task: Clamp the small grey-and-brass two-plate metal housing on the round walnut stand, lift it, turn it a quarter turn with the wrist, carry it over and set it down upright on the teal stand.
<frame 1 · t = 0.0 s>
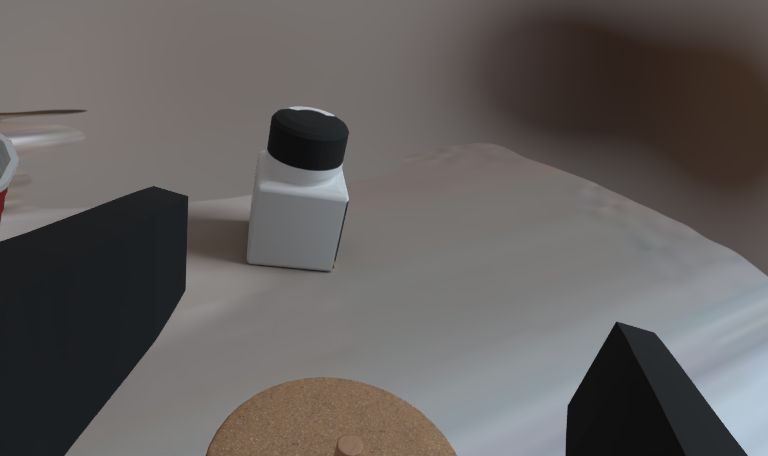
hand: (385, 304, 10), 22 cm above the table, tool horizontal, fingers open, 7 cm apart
medicine bottle: (289, 248, 52), on the table
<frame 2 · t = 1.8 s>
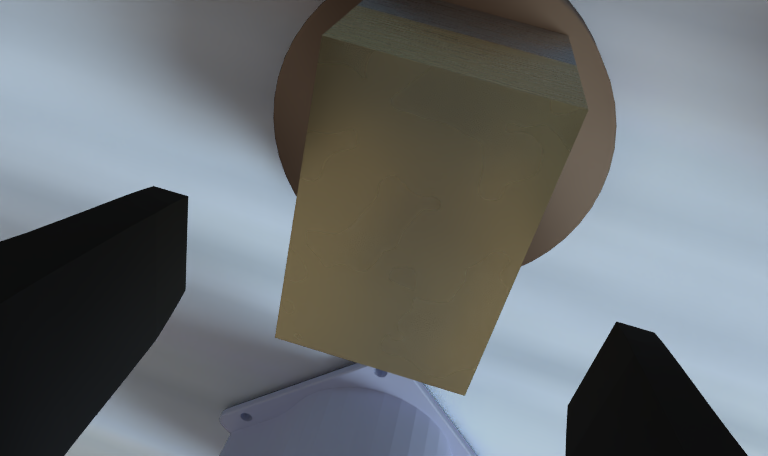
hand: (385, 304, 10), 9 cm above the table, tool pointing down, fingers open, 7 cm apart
stand a: (443, 116, 17), on the table
housing: (435, 142, 16), point 2 cm above the table, touching stand a
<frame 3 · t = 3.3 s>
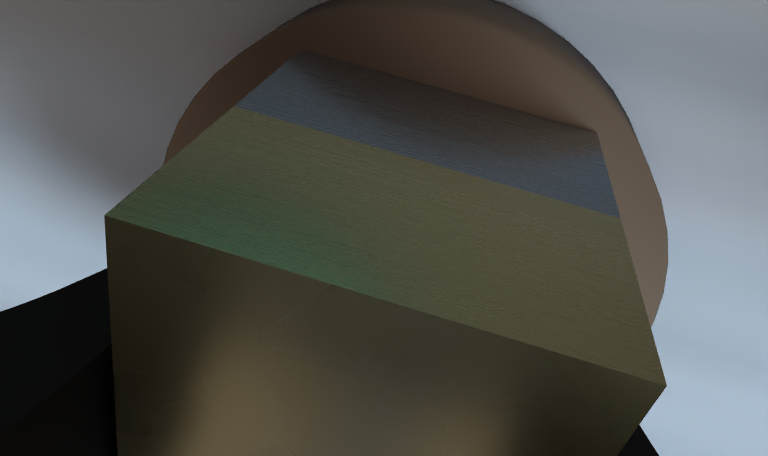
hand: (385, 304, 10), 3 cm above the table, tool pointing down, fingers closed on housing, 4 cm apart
stand a: (412, 217, 12), on the table
housing: (394, 272, 11), point 2 cm above the table, touching gripper, stand a
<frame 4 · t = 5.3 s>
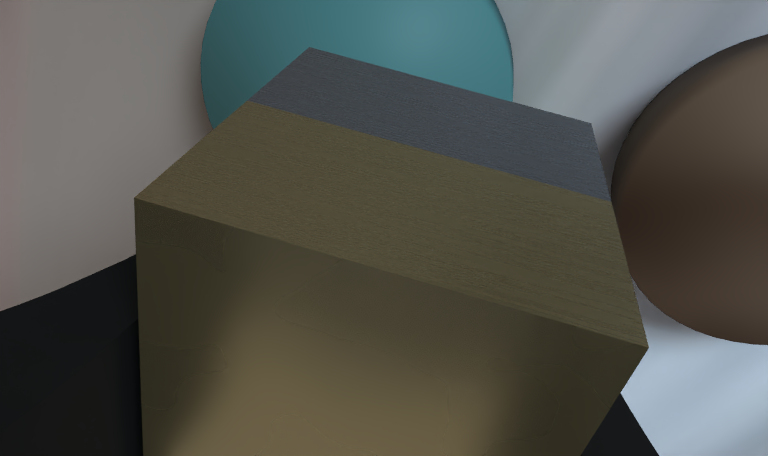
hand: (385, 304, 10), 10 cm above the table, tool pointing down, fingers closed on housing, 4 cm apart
stand b: (365, 81, 19), on the table
housing: (399, 261, 11), point 9 cm above the table, touching gripper
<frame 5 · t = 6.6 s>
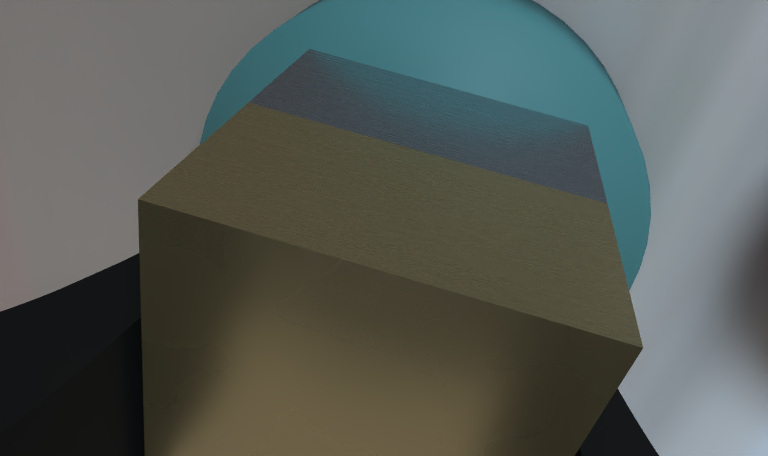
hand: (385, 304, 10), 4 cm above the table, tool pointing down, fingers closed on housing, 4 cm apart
stand b: (422, 183, 14), on the table
housing: (398, 261, 11), point 3 cm above the table, touching gripper
when the fingers open (4 cm above the table, at t = 7.4 s): housing stays where it is, resting on stand b.
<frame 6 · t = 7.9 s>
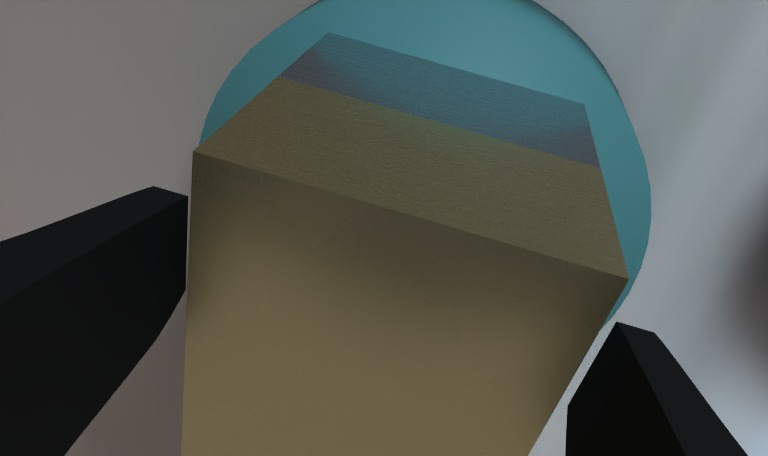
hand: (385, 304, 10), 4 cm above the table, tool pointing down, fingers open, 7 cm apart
stand b: (422, 184, 14), on the table
housing: (406, 233, 12), point 2 cm above the table, touching stand b
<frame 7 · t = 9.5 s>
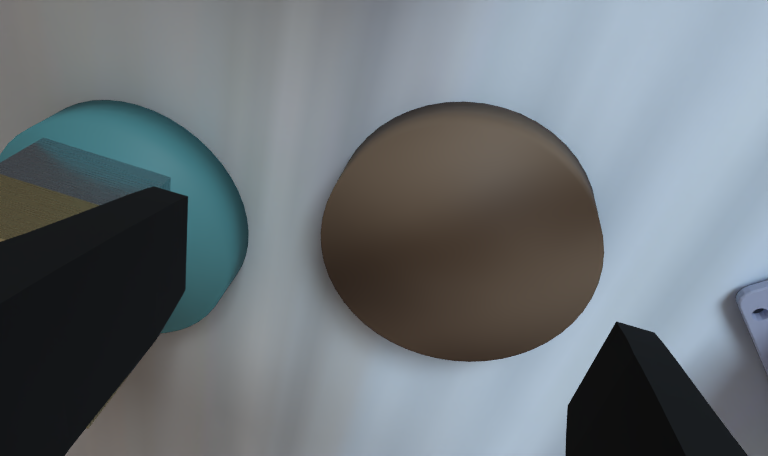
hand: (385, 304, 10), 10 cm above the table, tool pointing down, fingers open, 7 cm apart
stand b: (138, 211, 23), on the table
stand a: (460, 225, 21), on the table
housing: (109, 240, 22), point 2 cm above the table, touching stand b
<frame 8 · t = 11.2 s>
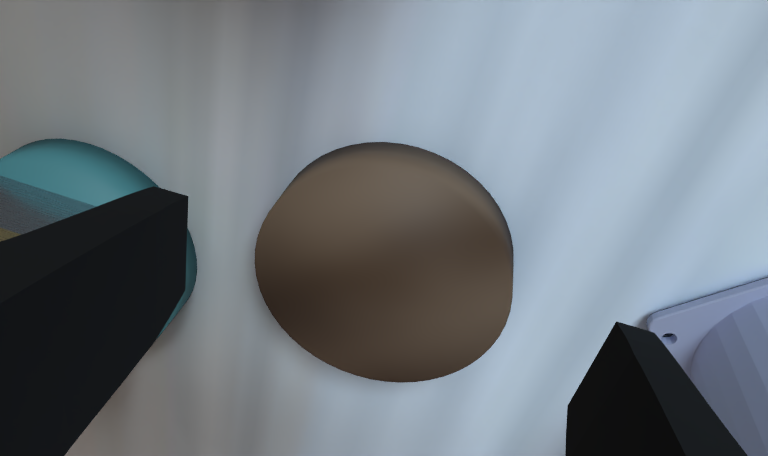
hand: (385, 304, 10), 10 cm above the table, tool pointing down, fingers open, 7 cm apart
stand b: (95, 239, 25), on the table
stand a: (389, 254, 22), on the table
housing: (64, 268, 23), point 2 cm above the table, touching stand b
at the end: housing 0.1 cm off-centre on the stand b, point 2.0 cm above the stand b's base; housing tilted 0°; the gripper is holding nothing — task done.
